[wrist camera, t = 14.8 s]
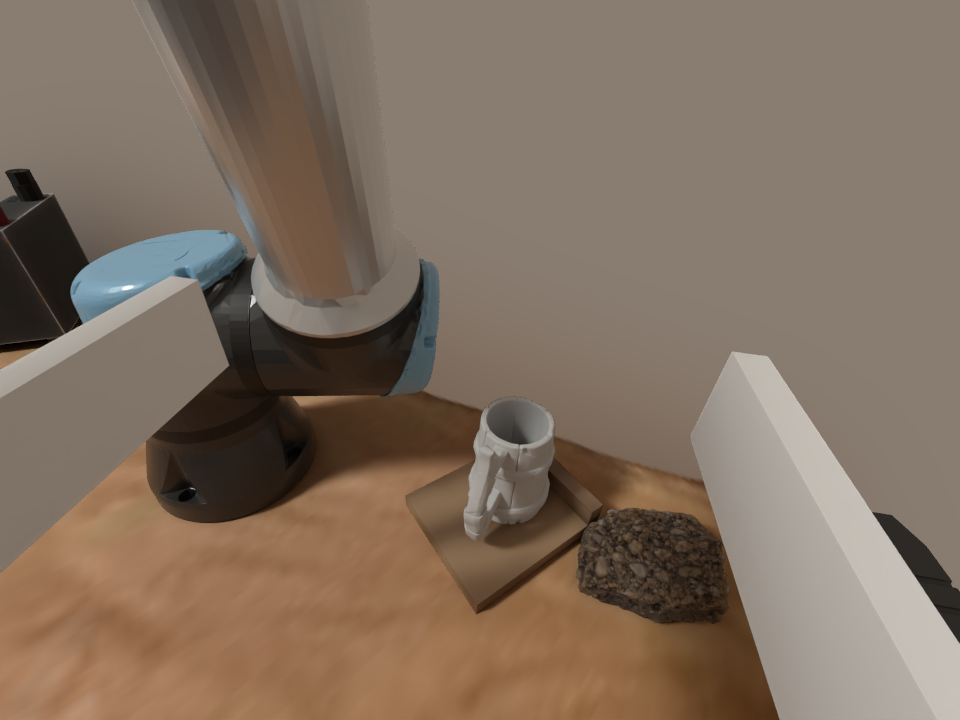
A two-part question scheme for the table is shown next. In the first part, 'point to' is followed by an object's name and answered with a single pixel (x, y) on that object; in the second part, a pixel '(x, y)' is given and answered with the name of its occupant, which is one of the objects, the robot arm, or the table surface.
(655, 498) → the table surface
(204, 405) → the robot arm
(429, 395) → the table surface
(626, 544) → the concrete sample
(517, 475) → the mug
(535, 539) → the rest board
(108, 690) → the table surface
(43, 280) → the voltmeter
